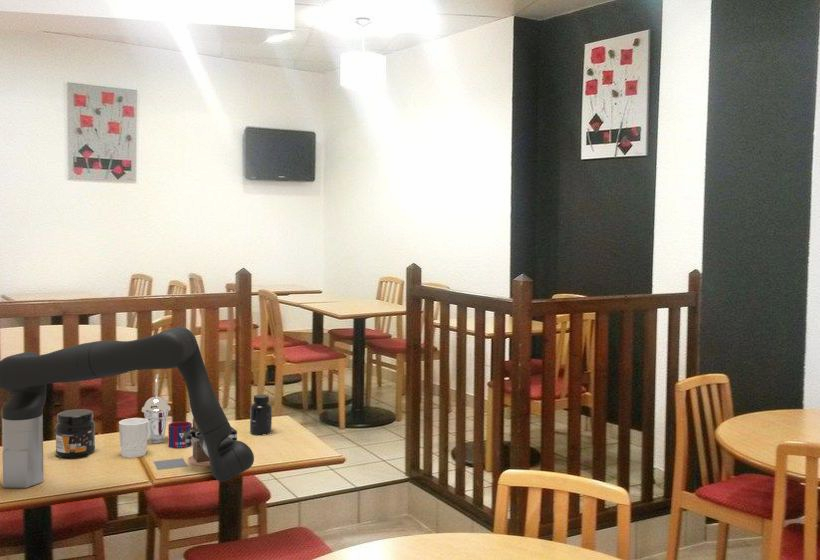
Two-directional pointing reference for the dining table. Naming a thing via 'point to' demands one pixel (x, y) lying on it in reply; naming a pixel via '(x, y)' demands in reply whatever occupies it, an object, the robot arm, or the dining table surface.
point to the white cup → (133, 437)
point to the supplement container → (75, 433)
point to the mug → (178, 434)
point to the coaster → (170, 464)
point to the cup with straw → (156, 416)
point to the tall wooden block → (198, 449)
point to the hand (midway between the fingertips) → (204, 429)
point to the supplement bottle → (260, 415)
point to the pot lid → (193, 462)
